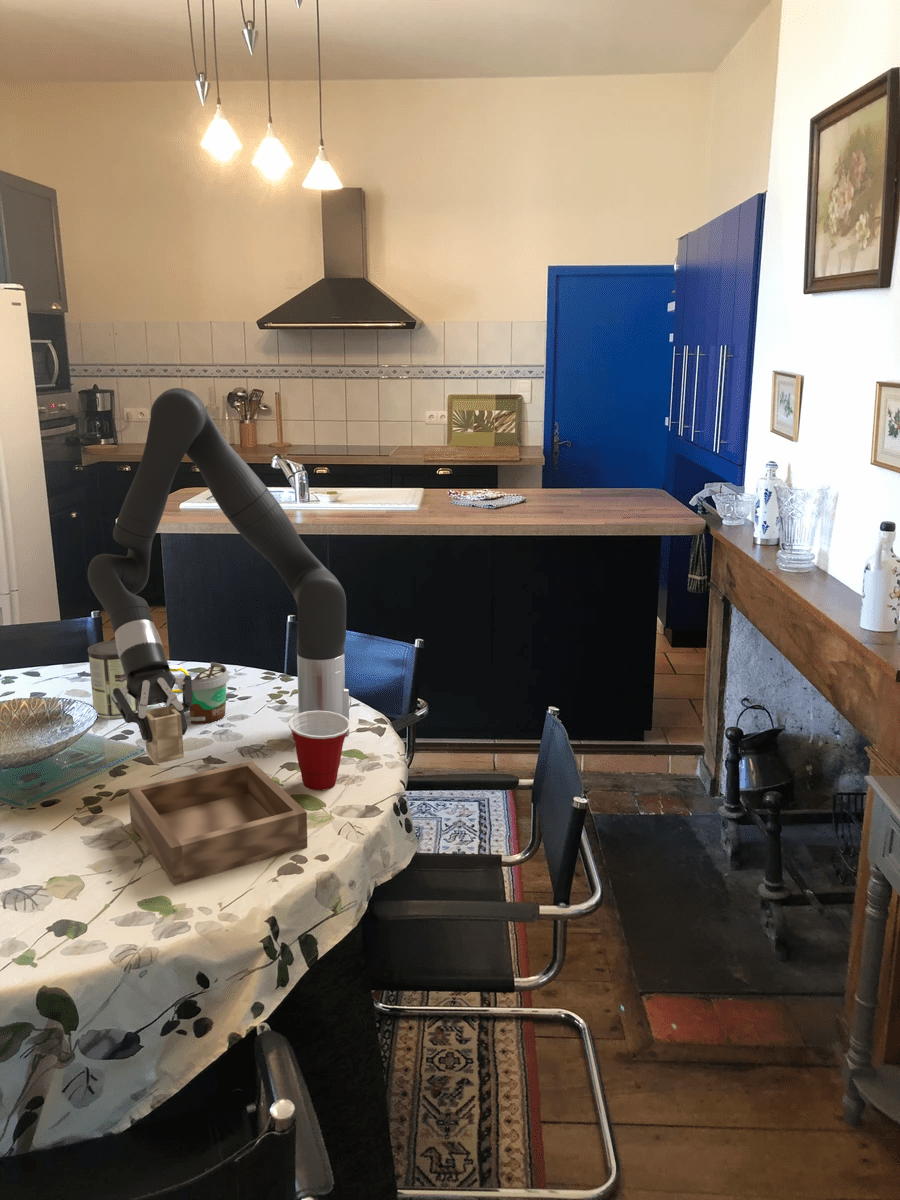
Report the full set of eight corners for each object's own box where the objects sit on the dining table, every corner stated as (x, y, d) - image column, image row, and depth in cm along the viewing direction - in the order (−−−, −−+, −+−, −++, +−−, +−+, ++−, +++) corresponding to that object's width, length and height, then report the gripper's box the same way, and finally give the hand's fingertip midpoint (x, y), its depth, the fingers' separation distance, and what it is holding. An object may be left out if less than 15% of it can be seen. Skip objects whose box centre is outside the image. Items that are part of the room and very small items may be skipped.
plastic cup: (325, 803, 163) (324, 738, 159) (277, 787, 168) (275, 724, 165) (363, 780, 171) (363, 718, 168) (316, 766, 177) (315, 705, 174)
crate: (253, 792, 166) (252, 760, 164) (307, 847, 148) (306, 812, 147) (130, 822, 155) (128, 788, 153) (173, 885, 137) (171, 848, 136)
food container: (215, 729, 193) (213, 682, 190) (187, 726, 194) (185, 680, 191) (240, 707, 205) (238, 663, 202) (213, 705, 206) (211, 661, 203)
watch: (189, 690, 215) (190, 665, 214) (189, 694, 213) (189, 669, 211) (162, 689, 214) (162, 664, 213) (161, 693, 212) (161, 668, 210)
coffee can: (122, 698, 209) (117, 636, 205) (154, 708, 204) (150, 645, 200) (82, 712, 200) (76, 648, 197) (114, 723, 195) (109, 657, 192)
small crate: (175, 747, 168) (171, 705, 166) (184, 757, 164) (180, 714, 162) (146, 754, 166) (142, 711, 164) (155, 764, 162) (151, 720, 160)
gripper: (101, 647, 162) (127, 737, 156) (184, 634, 170) (212, 719, 163) (97, 668, 168) (121, 755, 162) (177, 654, 176) (203, 737, 169)
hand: (166, 736), depth 163 cm, fingers closed on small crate, 5 cm apart
